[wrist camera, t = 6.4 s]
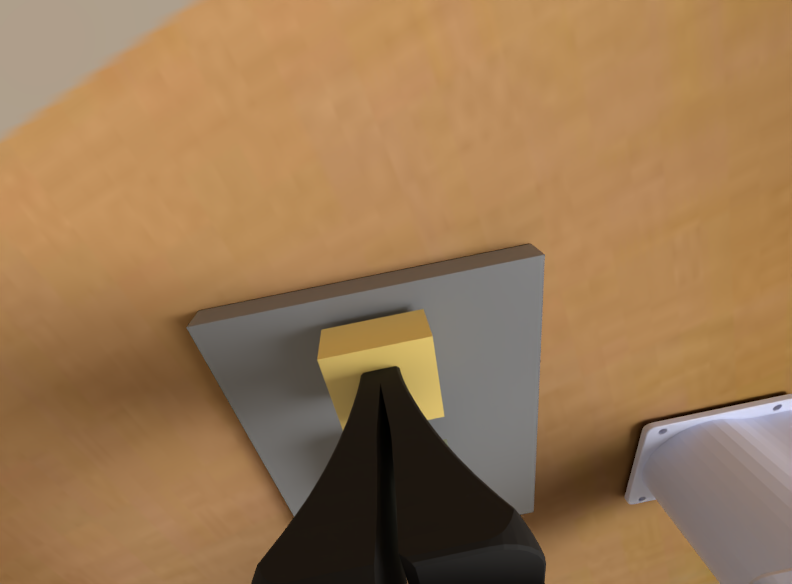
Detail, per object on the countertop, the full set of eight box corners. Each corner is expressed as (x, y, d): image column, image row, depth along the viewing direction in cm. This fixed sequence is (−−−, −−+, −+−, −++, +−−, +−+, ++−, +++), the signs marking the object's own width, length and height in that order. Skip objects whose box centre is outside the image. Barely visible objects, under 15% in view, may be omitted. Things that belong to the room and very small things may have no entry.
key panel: (531, 243, 15) (544, 254, 13) (525, 493, 23) (533, 511, 22) (198, 310, 14) (186, 327, 13) (319, 536, 23) (317, 557, 22)
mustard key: (417, 291, 15) (432, 336, 12) (429, 363, 17) (444, 416, 14) (323, 310, 15) (317, 359, 12) (346, 380, 17) (345, 437, 14)
